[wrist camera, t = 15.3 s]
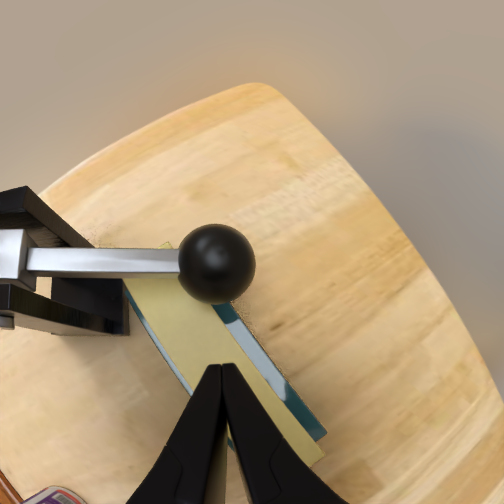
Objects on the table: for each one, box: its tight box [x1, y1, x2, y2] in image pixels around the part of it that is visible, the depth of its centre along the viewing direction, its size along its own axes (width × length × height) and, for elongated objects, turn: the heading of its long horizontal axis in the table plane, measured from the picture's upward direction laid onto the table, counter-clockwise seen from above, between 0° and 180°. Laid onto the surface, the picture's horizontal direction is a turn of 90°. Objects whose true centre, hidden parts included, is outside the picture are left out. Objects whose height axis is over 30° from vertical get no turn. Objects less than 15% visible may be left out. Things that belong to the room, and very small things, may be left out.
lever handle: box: [0, 224, 256, 305], centre depth 12 cm, size 13×4×4 cm, turn 95°
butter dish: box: [124, 290, 327, 453], centre depth 18 cm, size 5×14×2 cm, turn 36°
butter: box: [122, 242, 325, 467], centre depth 16 cm, size 14×3×3 cm, turn 36°
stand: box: [0, 186, 129, 336], centre depth 14 cm, size 6×6×12 cm
